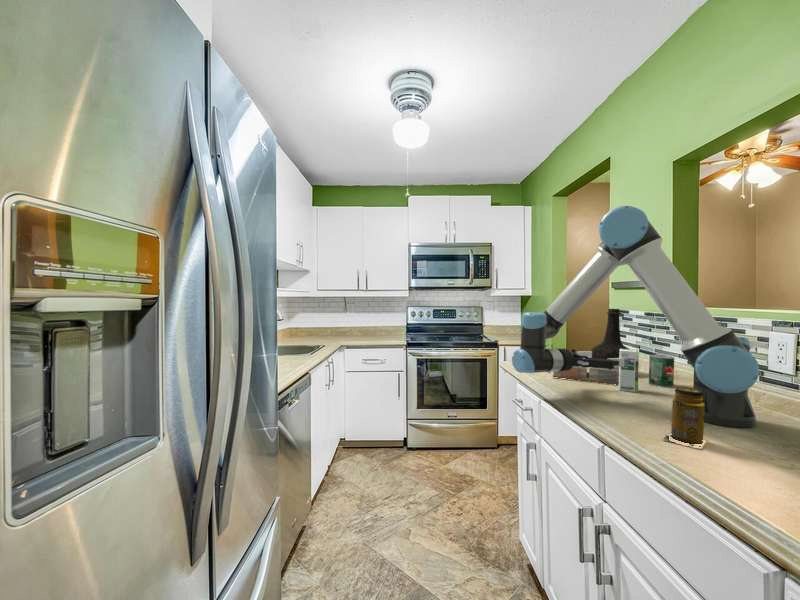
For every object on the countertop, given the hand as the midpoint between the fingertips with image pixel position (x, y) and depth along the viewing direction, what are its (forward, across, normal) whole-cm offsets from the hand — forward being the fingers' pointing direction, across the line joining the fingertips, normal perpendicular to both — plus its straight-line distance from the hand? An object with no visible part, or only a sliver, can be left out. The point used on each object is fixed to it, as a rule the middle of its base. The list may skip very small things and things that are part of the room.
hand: (606, 358), depth 134 cm
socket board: (+10, -18, -12) cm, 24 cm away
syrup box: (+10, 0, -12) cm, 15 cm away
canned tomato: (+30, -2, -12) cm, 32 cm away
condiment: (-19, +41, -12) cm, 46 cm away
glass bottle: (+30, -25, -12) cm, 41 cm away
